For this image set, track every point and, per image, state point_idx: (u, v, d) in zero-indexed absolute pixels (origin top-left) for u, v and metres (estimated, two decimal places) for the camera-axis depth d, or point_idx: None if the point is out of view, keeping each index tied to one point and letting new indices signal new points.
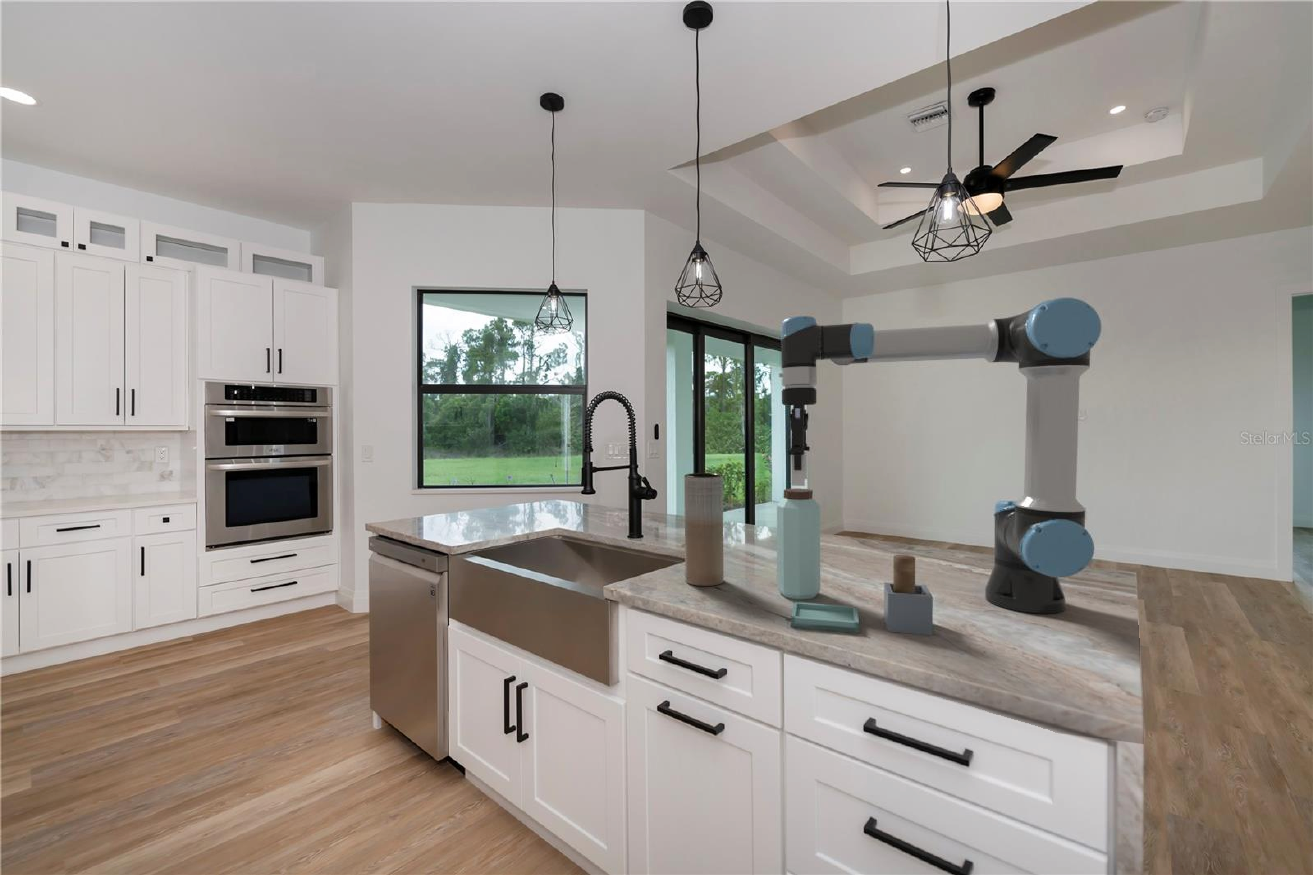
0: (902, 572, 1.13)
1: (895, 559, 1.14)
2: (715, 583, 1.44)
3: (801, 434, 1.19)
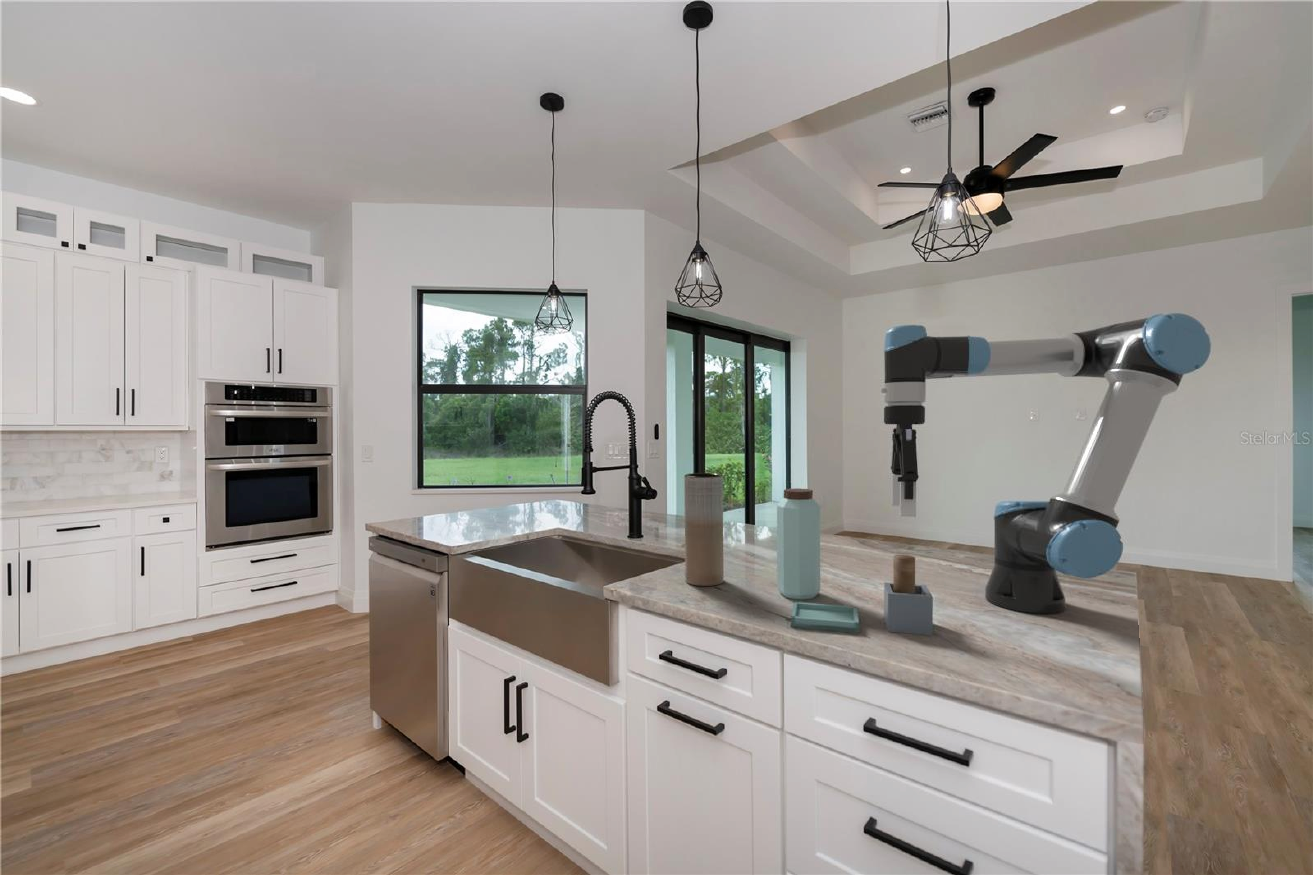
0: (902, 572, 1.13)
1: (895, 559, 1.14)
2: (715, 583, 1.44)
3: (914, 459, 1.06)
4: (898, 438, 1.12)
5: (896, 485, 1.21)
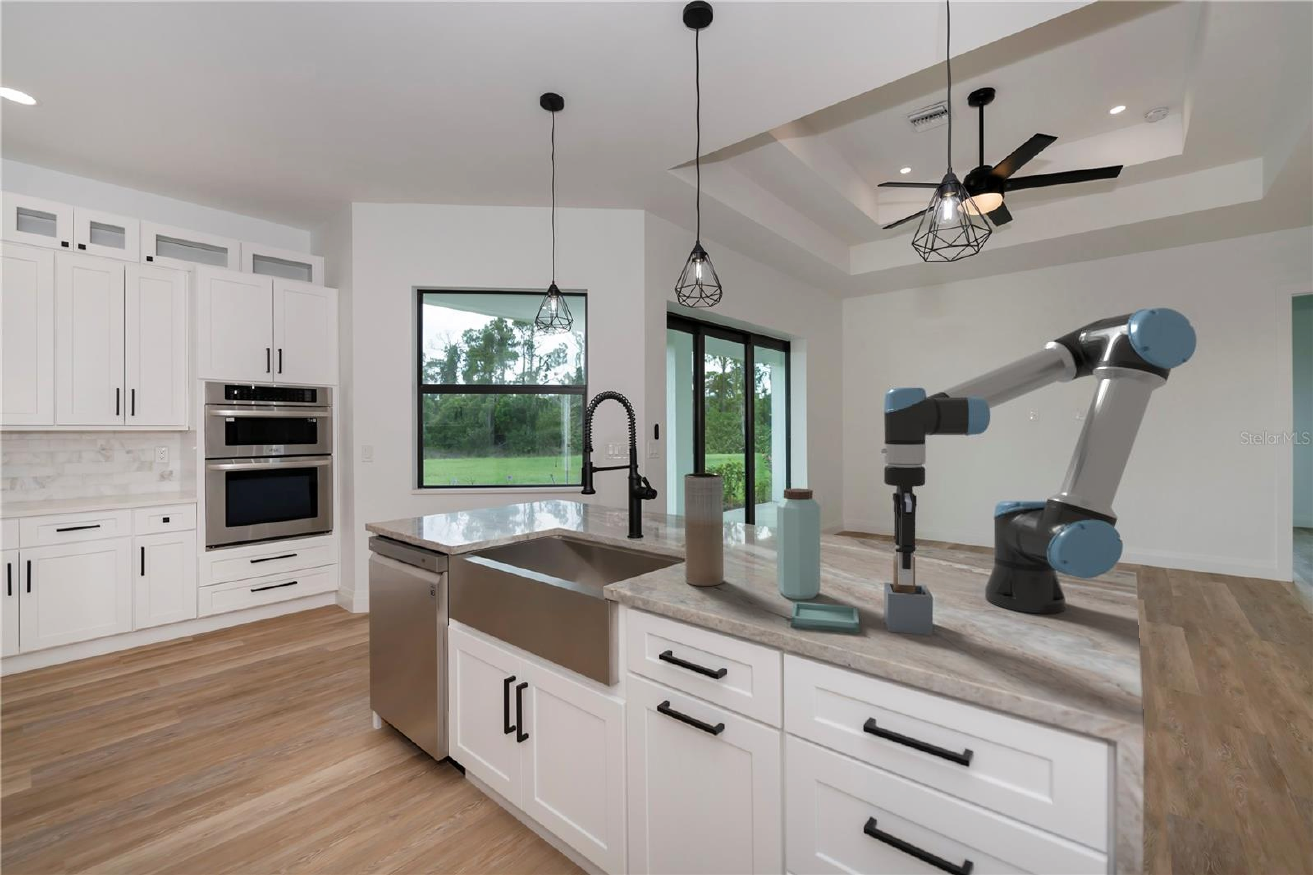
0: None
1: (895, 559, 1.14)
2: (715, 583, 1.44)
3: (913, 532, 1.09)
4: (898, 502, 1.13)
5: None
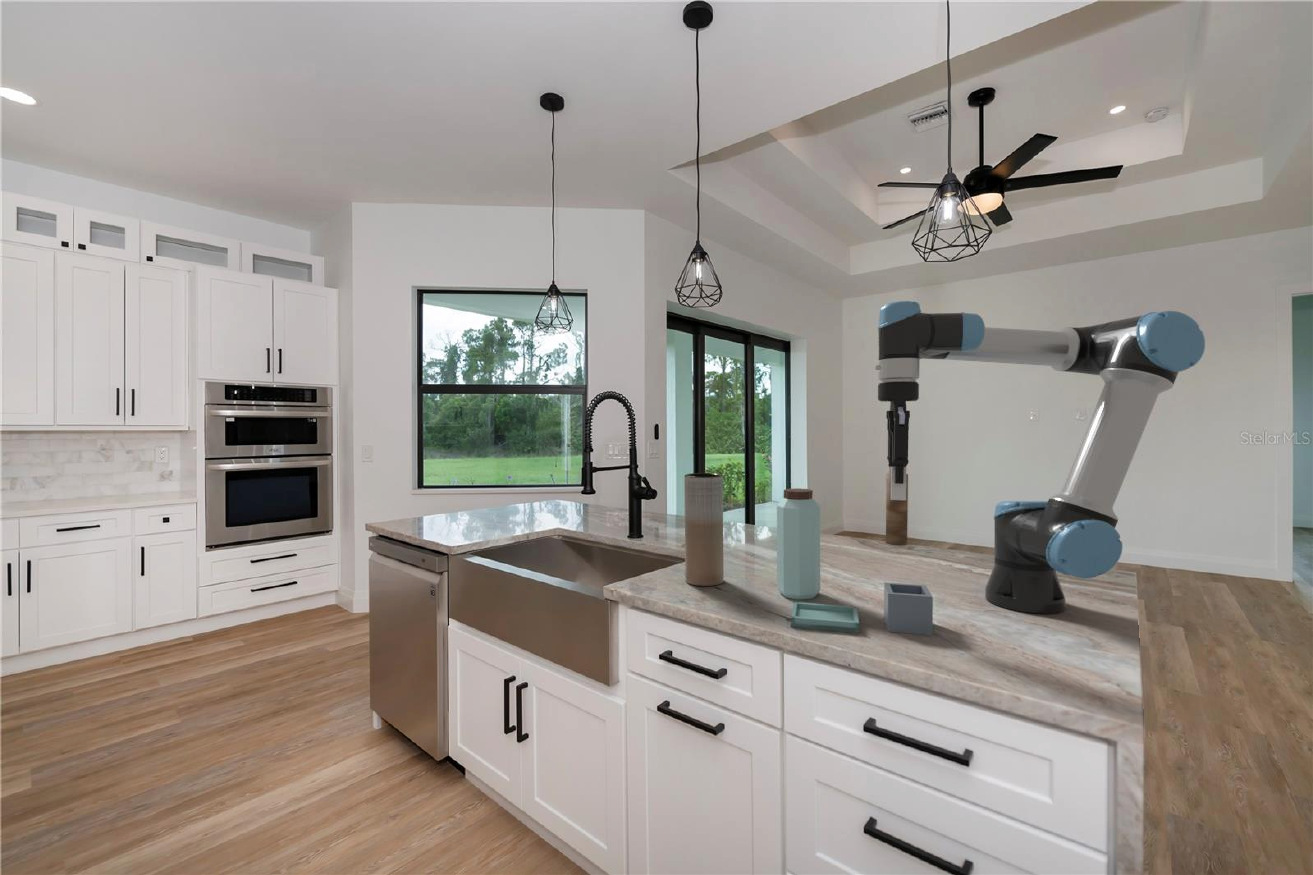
0: None
1: (888, 476, 1.14)
2: (715, 583, 1.44)
3: (906, 444, 1.08)
4: (892, 417, 1.12)
5: None
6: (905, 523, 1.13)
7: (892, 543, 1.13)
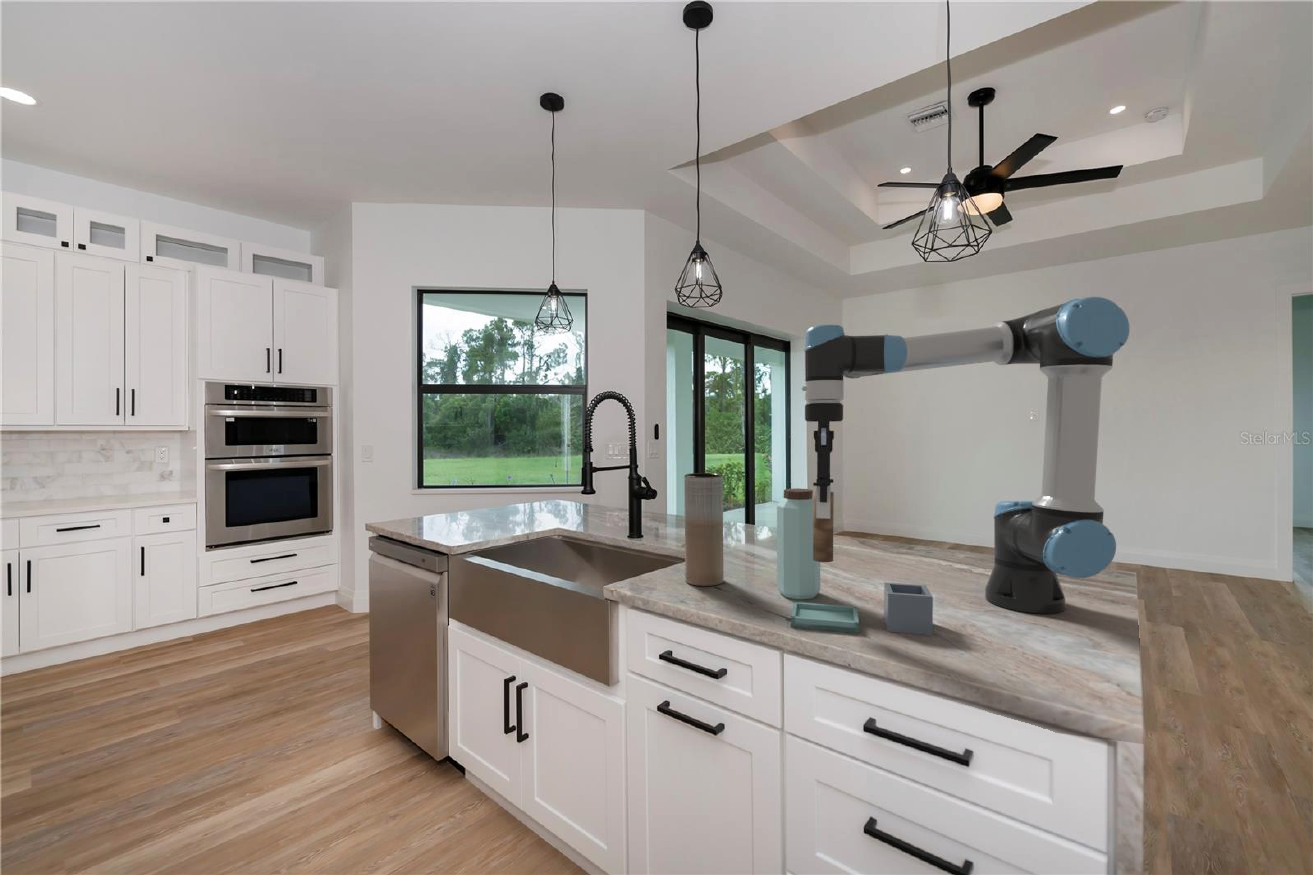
0: None
1: (814, 494, 1.17)
2: (715, 583, 1.44)
3: (828, 465, 1.11)
4: (817, 437, 1.15)
5: None
6: (830, 540, 1.16)
7: (818, 560, 1.16)
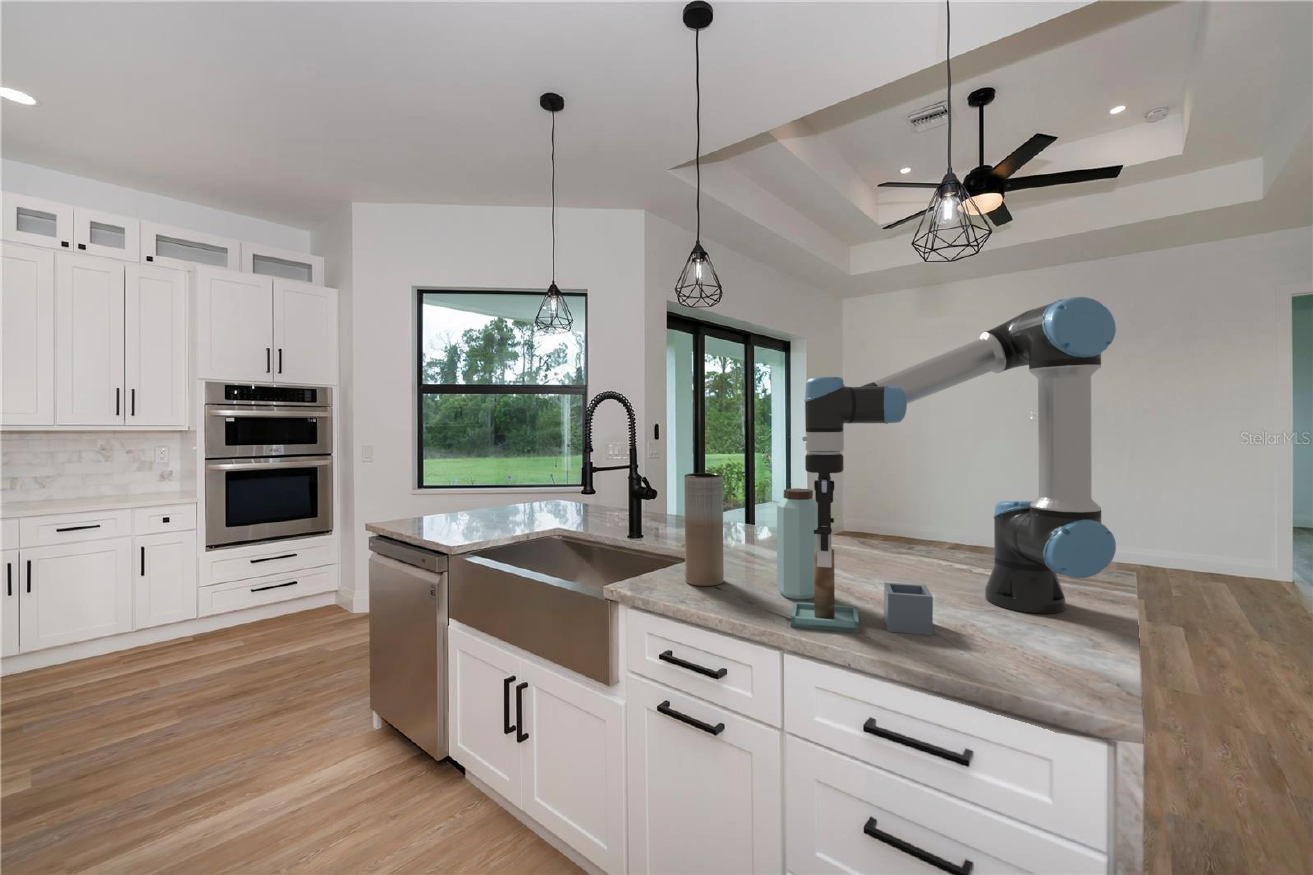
0: None
1: (815, 551, 1.17)
2: (715, 583, 1.44)
3: (828, 512, 1.09)
4: (817, 487, 1.15)
5: None
6: (831, 598, 1.16)
7: (819, 617, 1.17)
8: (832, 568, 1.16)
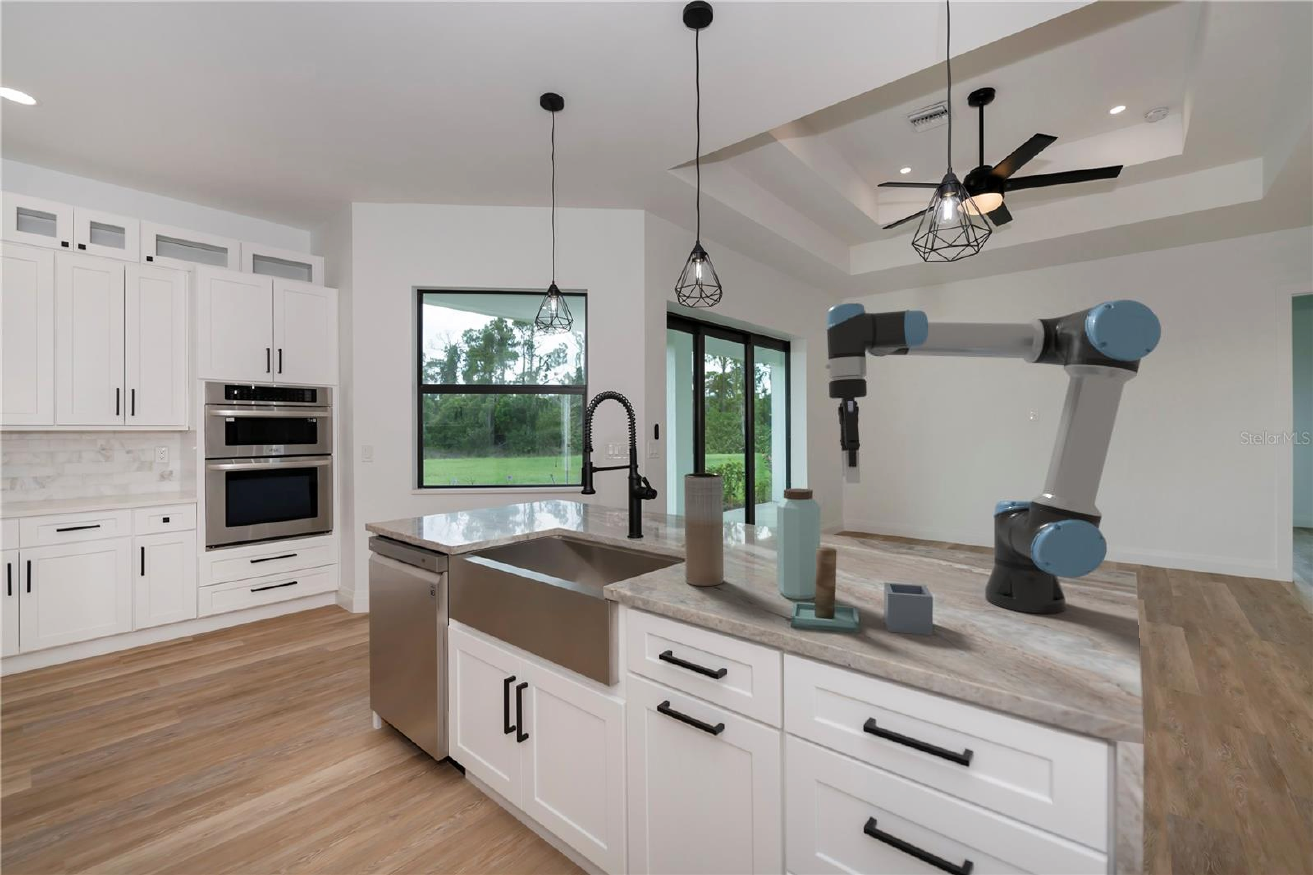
0: (823, 564, 1.16)
1: (817, 551, 1.17)
2: (715, 583, 1.44)
3: (856, 428, 1.12)
4: (842, 410, 1.19)
5: (845, 456, 1.27)
6: (832, 598, 1.16)
7: (819, 617, 1.17)
8: (834, 568, 1.16)
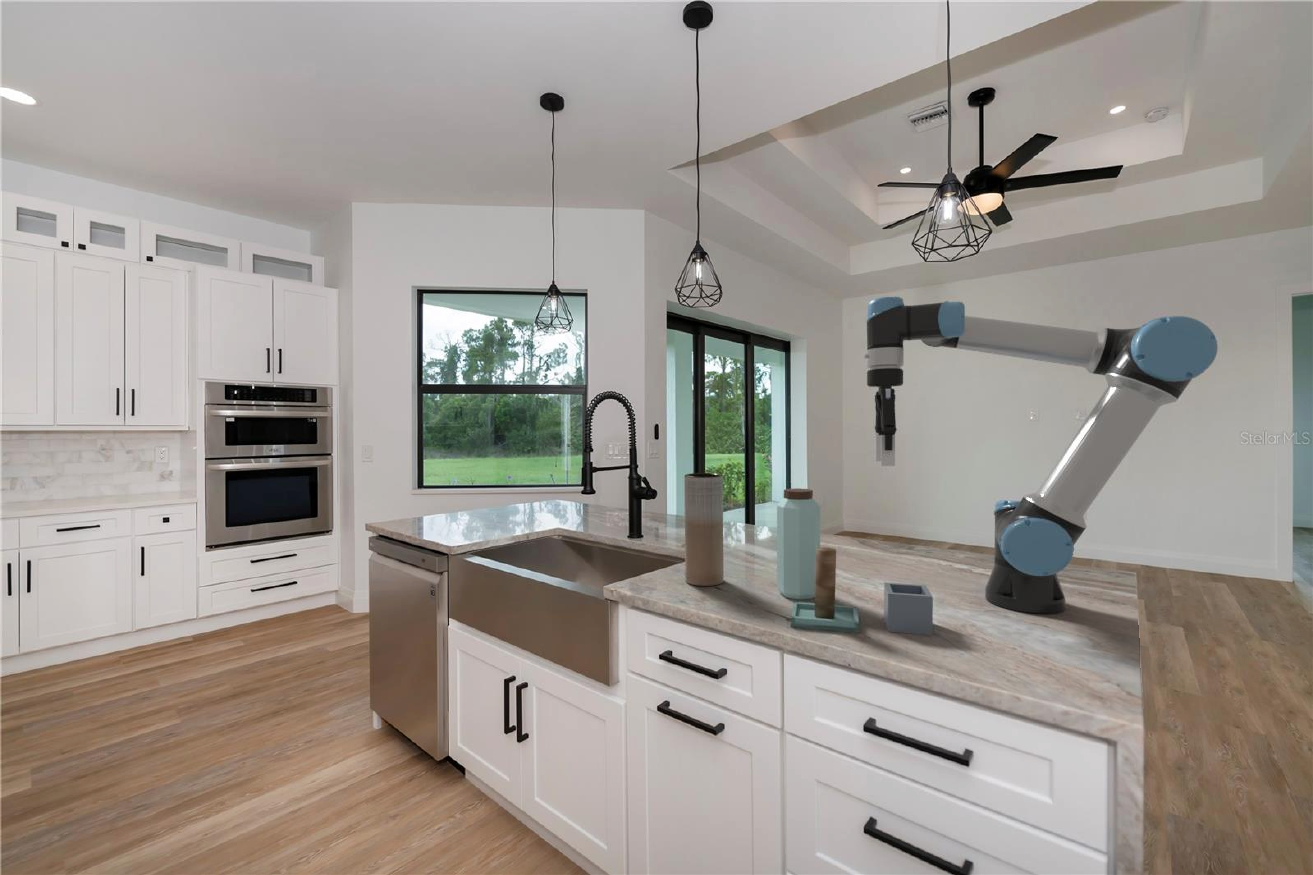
0: (823, 564, 1.16)
1: (817, 551, 1.17)
2: (715, 583, 1.44)
3: (893, 414, 1.19)
4: (879, 398, 1.26)
5: (879, 442, 1.34)
6: (832, 598, 1.16)
7: (819, 617, 1.17)
8: (833, 568, 1.16)
